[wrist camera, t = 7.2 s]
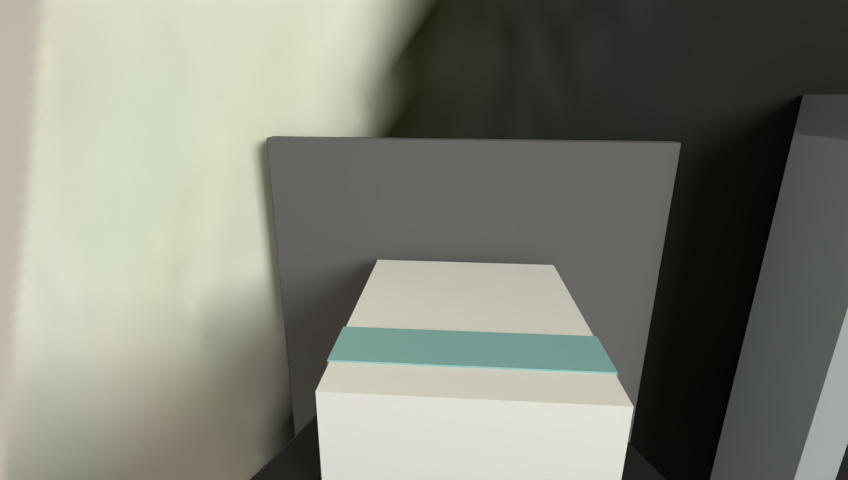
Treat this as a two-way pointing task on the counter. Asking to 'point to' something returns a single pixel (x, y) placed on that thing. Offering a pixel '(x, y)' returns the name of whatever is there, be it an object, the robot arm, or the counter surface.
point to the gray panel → (468, 229)
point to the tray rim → (797, 319)
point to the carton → (470, 380)
